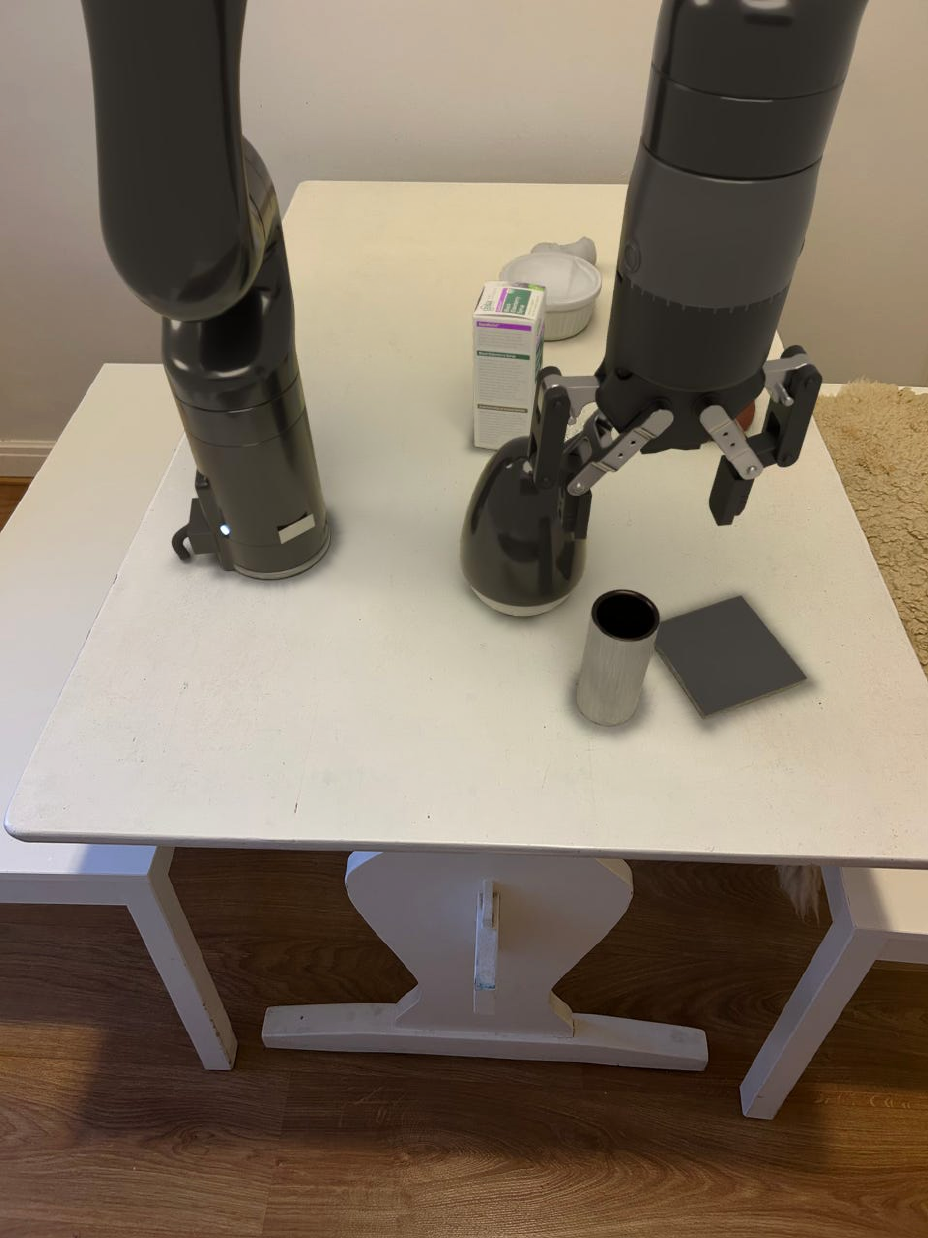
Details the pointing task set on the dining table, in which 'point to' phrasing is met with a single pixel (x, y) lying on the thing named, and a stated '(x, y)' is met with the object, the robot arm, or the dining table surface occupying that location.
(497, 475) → the pump dispenser
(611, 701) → the planter
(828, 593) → the dining table surface
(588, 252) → the pale two-lobed sculpture
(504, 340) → the syrup box
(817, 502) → the dining table surface
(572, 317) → the ramekin
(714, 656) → the slate coaster
